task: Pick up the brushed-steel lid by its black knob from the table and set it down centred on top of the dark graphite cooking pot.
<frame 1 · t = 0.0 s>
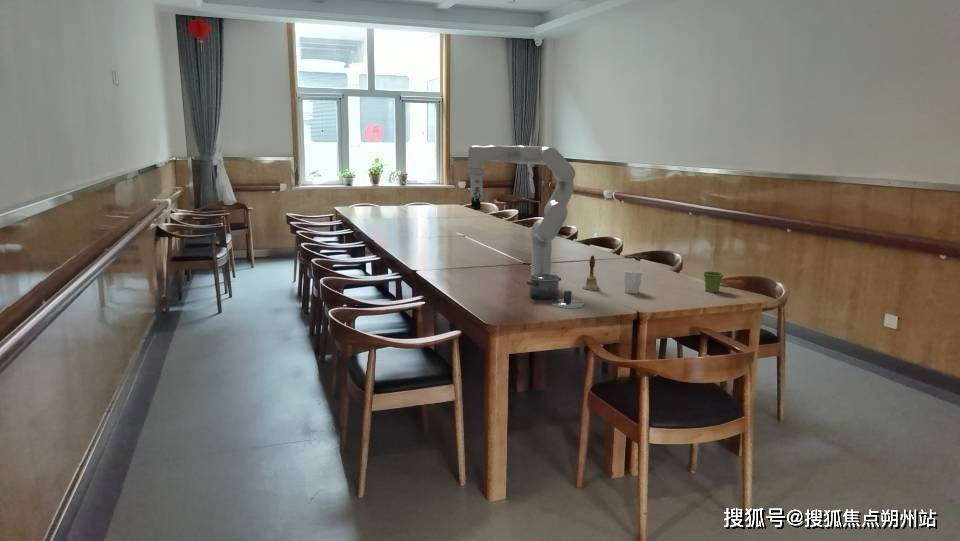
hand: (475, 208, 307), 37 cm above the table, tool pointing down, fingers open, 9 cm apart
lid: (567, 304, 279), on the table
white cup: (631, 292, 303), on the table
hand bell: (591, 288, 310), on the table
pot: (543, 296, 292), on the table
plant pot: (711, 291, 307), on the table
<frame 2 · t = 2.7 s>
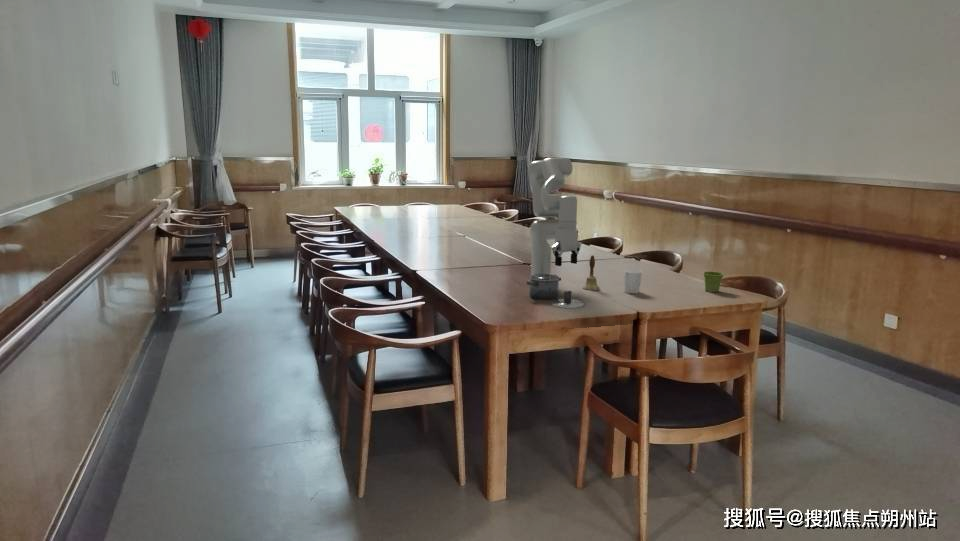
hand: (566, 264, 277), 17 cm above the table, tool pointing down, fingers open, 9 cm apart
nothing on the table moved.
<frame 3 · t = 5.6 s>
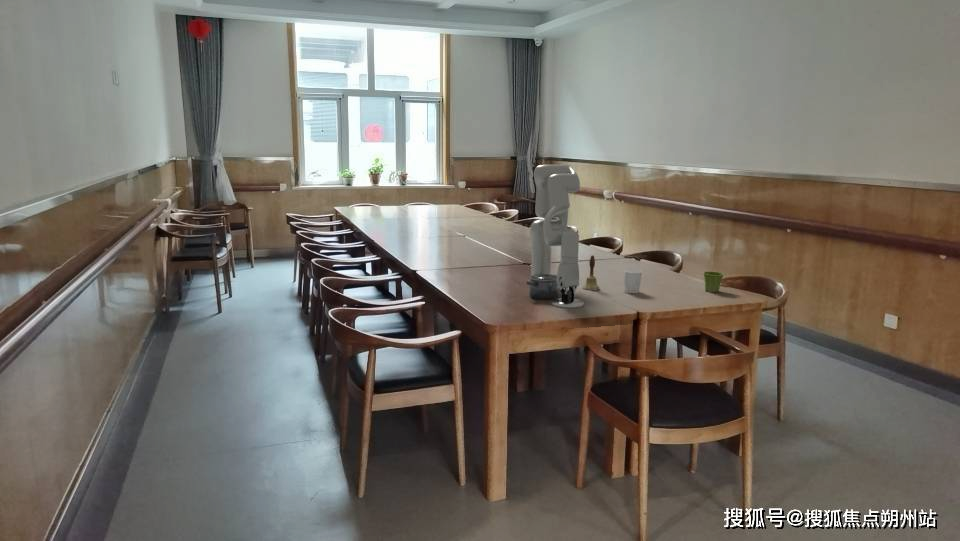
hand: (567, 301, 279), 1 cm above the table, tool pointing down, fingers closed on lid, 3 cm apart
lid: (567, 304, 279), on the table, touching gripper
everything else where it was.
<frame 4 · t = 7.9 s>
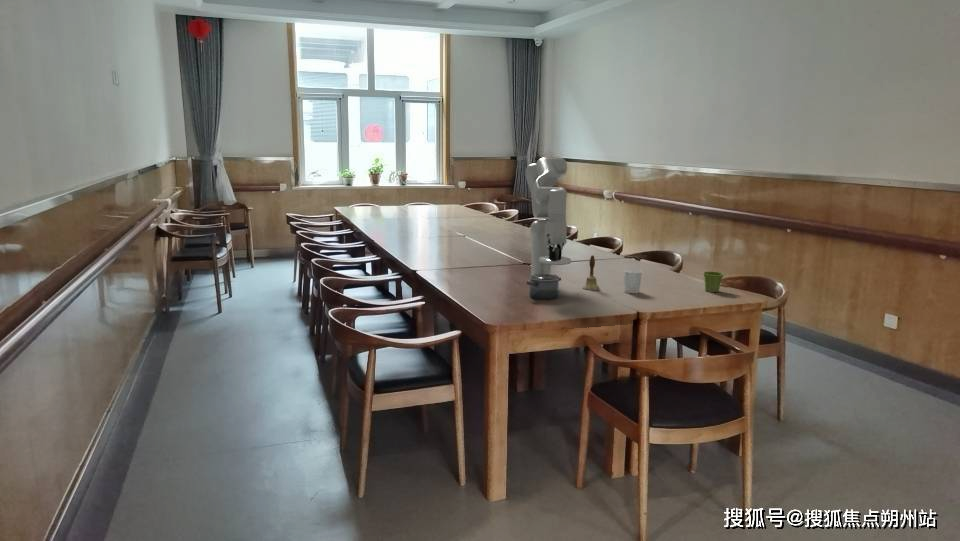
hand: (555, 258, 284), 18 cm above the table, tool pointing down, fingers closed on lid, 3 cm apart
lid: (555, 261, 284), point 17 cm above the table, touching gripper
everything else where it was.
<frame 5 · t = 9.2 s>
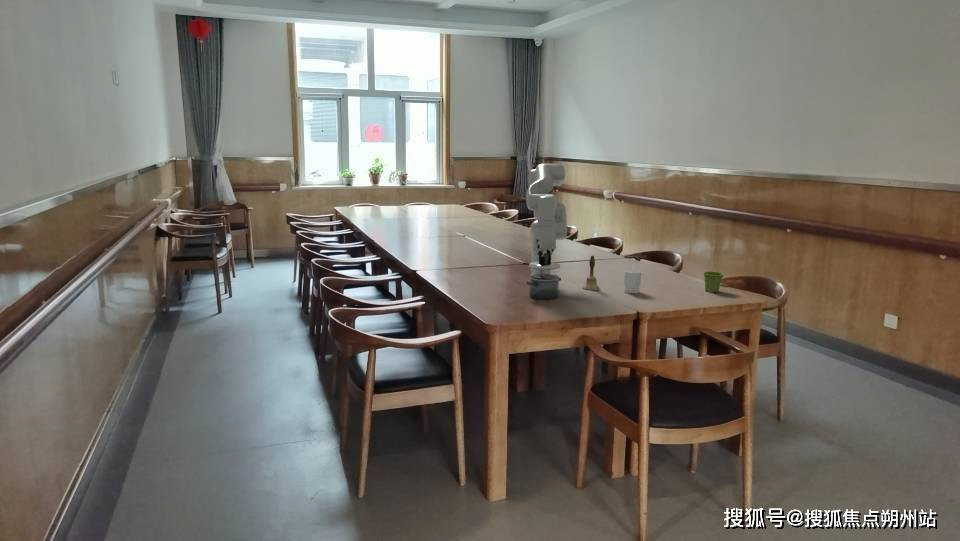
hand: (544, 264, 289), 15 cm above the table, tool pointing down, fingers closed on lid, 3 cm apart
lid: (544, 266, 290), point 14 cm above the table, touching gripper
everything else where it was.
when the fingers open (12 cm above the table, at t = 10.4 s): lid drops 1 cm, resting on pot.
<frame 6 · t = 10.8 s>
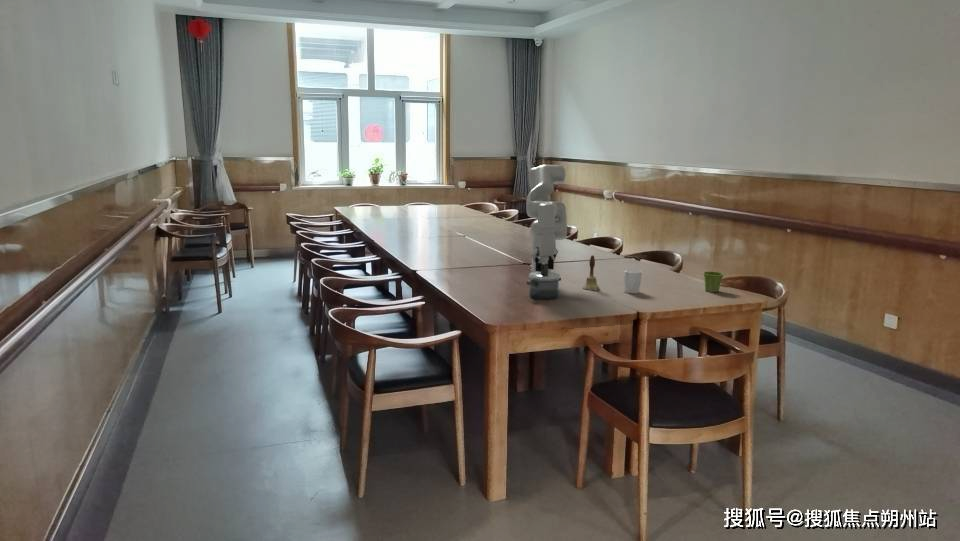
hand: (544, 269, 290), 12 cm above the table, tool pointing down, fingers open, 7 cm apart
lid: (544, 277, 291), point 9 cm above the table, touching pot
everything else where it was.
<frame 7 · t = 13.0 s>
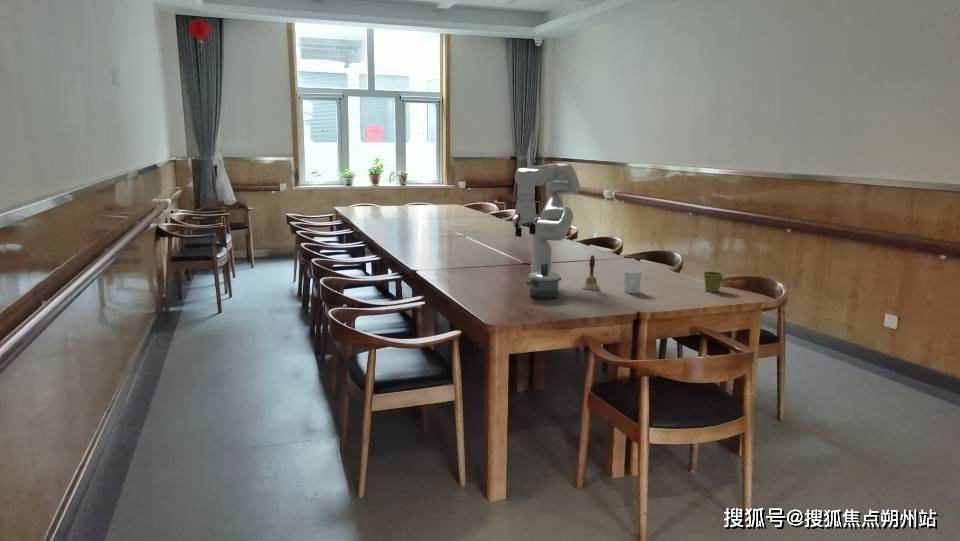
hand: (525, 235, 294), 27 cm above the table, tool pointing down, fingers open, 9 cm apart
nothing on the table moved.
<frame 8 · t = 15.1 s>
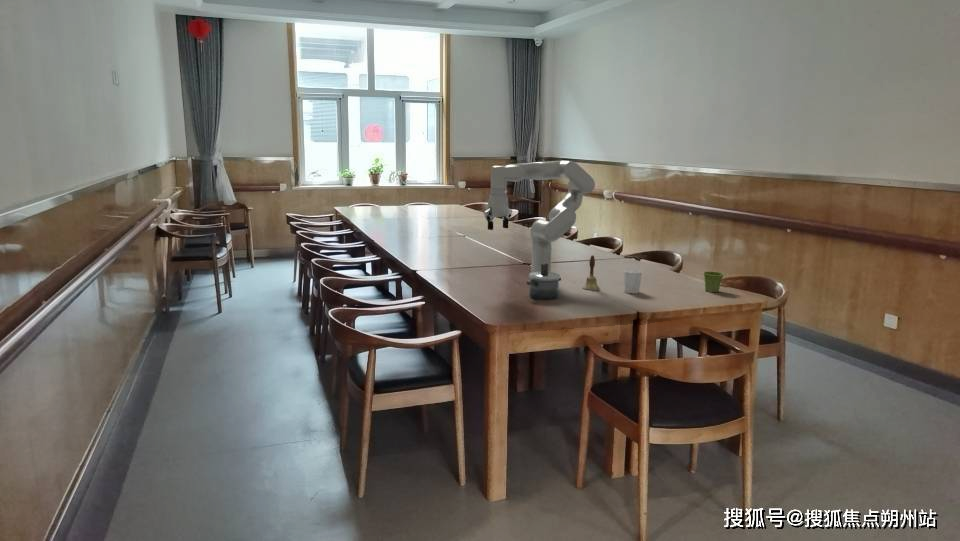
hand: (498, 228, 304), 28 cm above the table, tool pointing down, fingers open, 9 cm apart
nothing on the table moved.
at the end: lid 0.1 cm off-centre on the pot, point 9.0 cm above the pot's base; lid tilted 0°; the gripper is holding nothing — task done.
